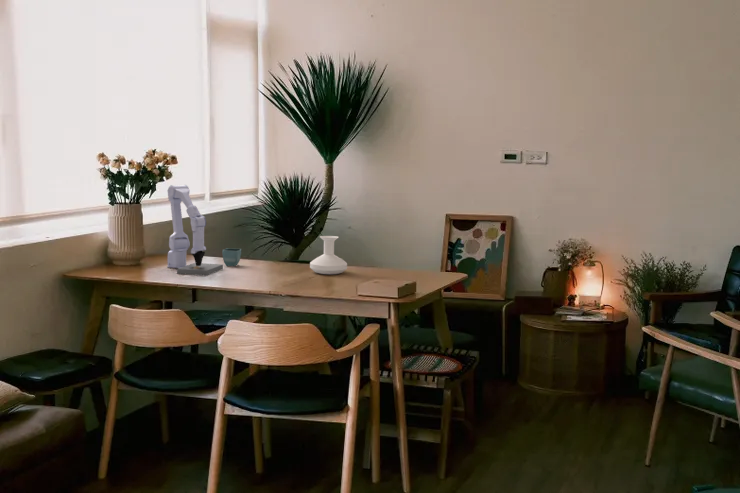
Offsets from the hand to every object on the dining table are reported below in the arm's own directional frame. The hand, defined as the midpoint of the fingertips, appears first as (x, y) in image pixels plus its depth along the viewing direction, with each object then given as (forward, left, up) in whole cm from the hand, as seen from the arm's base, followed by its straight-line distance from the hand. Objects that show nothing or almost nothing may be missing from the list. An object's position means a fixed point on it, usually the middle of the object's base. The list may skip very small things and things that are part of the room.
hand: (198, 265), depth 423 cm
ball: (0, -2, -2) cm, 3 cm away
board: (0, +2, -3) cm, 4 cm away
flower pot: (+8, +26, -4) cm, 28 cm away
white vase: (+64, +22, -4) cm, 68 cm away
